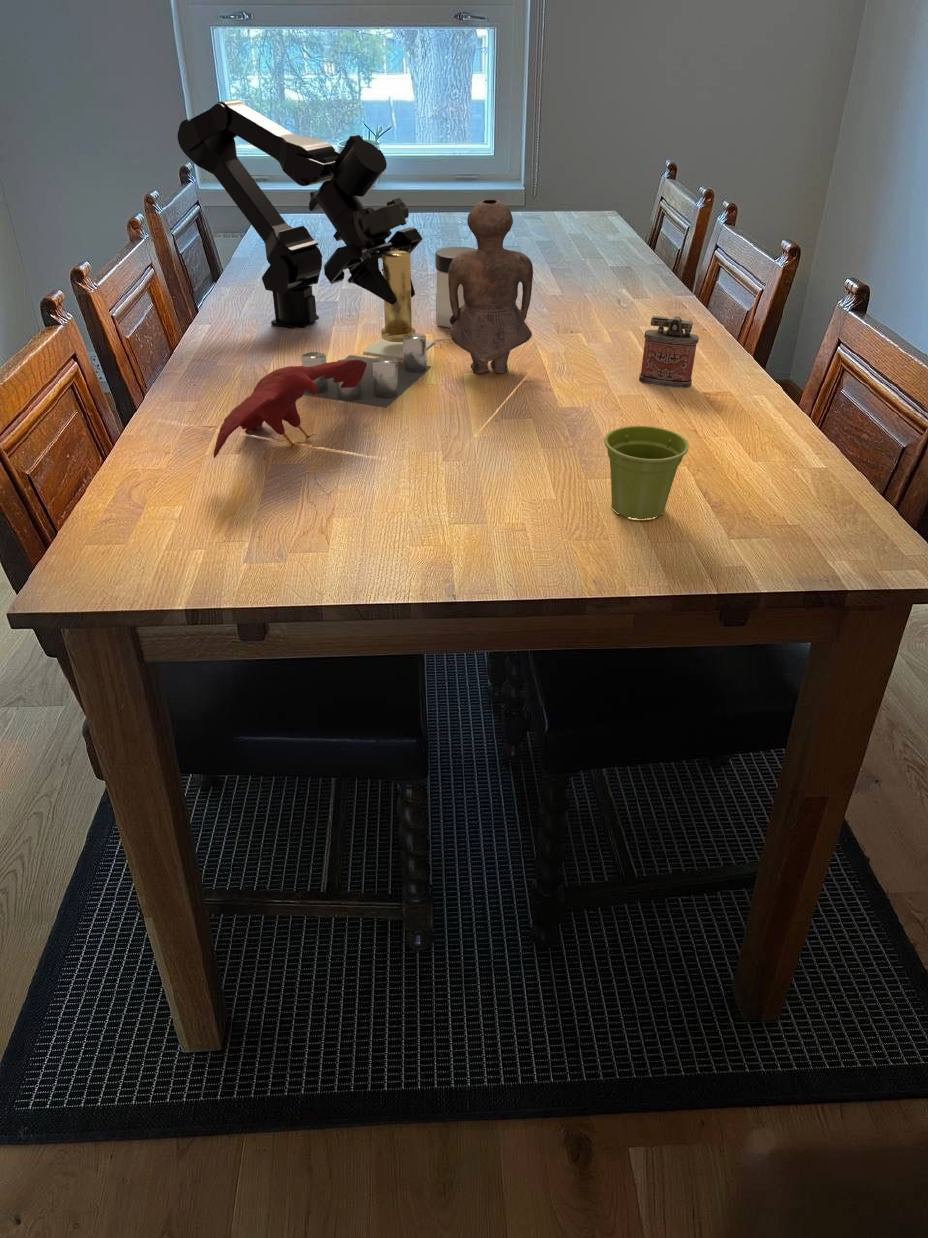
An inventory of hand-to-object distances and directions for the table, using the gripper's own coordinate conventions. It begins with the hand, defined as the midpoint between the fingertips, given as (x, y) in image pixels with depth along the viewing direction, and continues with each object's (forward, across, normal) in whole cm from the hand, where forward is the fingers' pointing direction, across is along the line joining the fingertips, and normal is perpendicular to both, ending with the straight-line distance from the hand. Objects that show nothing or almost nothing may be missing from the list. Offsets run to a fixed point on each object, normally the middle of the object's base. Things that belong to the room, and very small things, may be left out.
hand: (403, 299), depth 147 cm
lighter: (+35, +14, -23) cm, 44 cm away
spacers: (+8, -14, +3) cm, 17 cm away
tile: (+5, 0, +7) cm, 8 cm away
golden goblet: (+4, 0, +5) cm, 6 cm away
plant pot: (+46, -26, -34) cm, 62 cm away
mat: (+9, -14, +3) cm, 17 cm away
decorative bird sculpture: (+13, -37, 0) cm, 39 cm away
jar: (+5, +18, +8) cm, 20 cm away
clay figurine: (+17, +1, -5) cm, 18 cm away
